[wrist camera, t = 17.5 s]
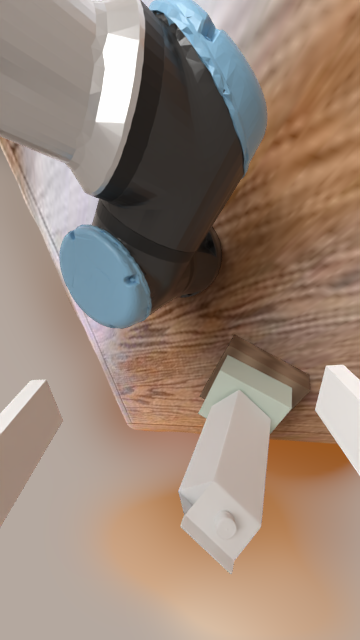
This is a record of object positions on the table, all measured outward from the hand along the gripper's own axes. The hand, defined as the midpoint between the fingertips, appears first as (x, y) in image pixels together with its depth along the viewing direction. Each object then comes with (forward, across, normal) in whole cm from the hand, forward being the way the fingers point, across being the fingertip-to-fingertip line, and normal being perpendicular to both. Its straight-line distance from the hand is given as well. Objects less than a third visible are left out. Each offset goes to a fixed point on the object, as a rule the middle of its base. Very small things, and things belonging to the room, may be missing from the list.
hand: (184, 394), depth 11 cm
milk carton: (+20, +8, -23) cm, 32 cm away
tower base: (+29, +13, -24) cm, 40 cm away
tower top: (+25, +10, -24) cm, 36 cm away
